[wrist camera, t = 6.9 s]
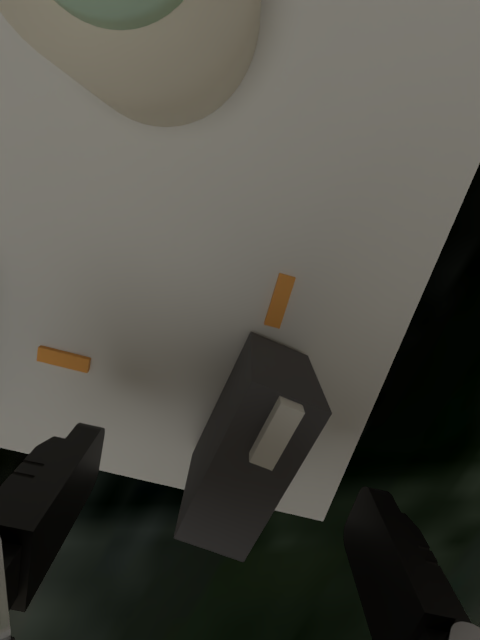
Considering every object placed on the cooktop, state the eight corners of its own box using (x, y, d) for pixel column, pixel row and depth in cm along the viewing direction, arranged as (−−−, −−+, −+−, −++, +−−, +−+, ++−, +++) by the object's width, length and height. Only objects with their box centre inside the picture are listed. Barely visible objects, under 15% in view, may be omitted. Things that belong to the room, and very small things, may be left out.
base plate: (313, 481, 19) (351, 637, 12) (-114, 380, 17) (-347, 491, 10) (490, 47, 13) (767, -139, 6) (-137, -157, 11) (-702, -697, 5)
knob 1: (192, 453, 15) (171, 549, 11) (250, 331, 13) (252, 388, 9) (244, 473, 15) (243, 574, 11) (308, 355, 13) (335, 422, 9)
